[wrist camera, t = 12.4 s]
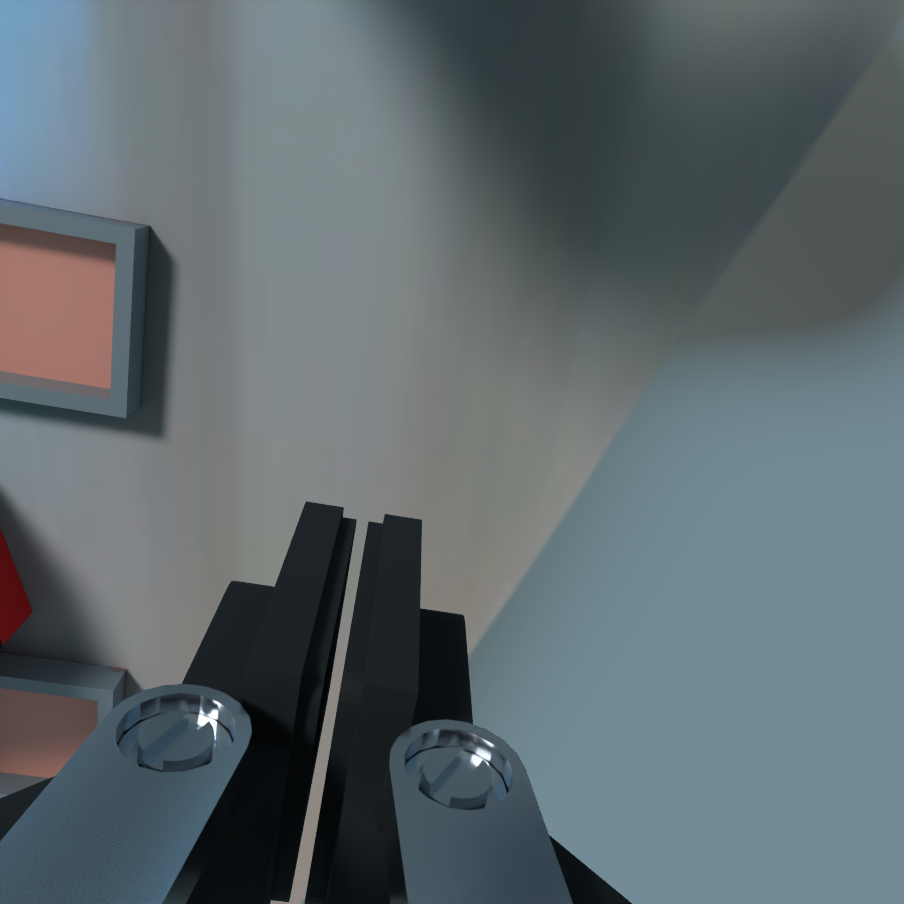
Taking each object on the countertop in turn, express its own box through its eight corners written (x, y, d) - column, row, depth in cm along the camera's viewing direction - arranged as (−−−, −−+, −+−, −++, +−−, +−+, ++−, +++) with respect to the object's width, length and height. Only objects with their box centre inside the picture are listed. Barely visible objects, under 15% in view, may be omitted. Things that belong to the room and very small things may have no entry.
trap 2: (-49, 189, 36) (-75, 190, 35) (149, 226, 37) (135, 229, 35) (-43, 376, 39) (-67, 387, 37) (140, 406, 40) (126, 418, 38)
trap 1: (-36, 647, 45) (-57, 668, 43) (126, 669, 45) (113, 690, 44) (-32, 773, 48) (-52, 798, 46) (119, 792, 48) (107, 817, 46)
